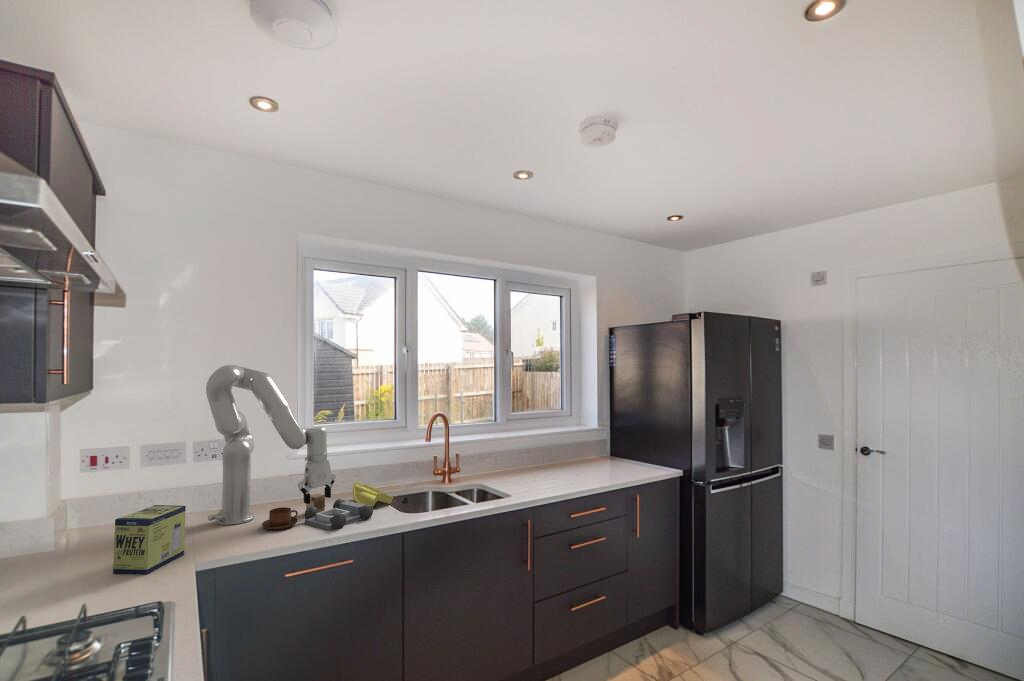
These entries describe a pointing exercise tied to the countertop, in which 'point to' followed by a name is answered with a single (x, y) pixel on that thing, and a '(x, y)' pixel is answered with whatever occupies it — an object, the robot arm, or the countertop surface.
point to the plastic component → (369, 495)
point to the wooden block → (317, 502)
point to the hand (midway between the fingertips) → (317, 500)
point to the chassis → (338, 514)
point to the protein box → (148, 539)
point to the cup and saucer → (280, 518)
